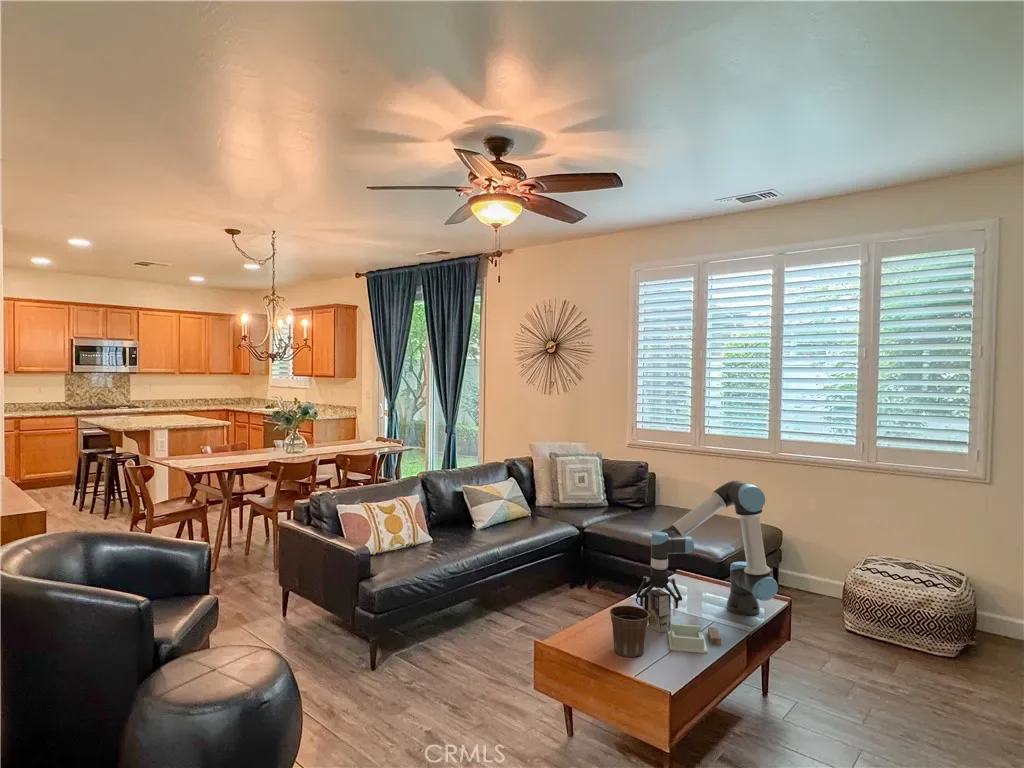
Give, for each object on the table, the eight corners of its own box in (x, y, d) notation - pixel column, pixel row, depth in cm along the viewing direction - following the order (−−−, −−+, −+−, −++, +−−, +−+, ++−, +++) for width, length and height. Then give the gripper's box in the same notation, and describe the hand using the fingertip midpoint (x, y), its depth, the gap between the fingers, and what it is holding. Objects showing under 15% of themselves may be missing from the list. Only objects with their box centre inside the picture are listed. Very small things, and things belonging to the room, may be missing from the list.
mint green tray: (703, 636, 265) (703, 624, 265) (707, 653, 249) (707, 641, 249) (667, 633, 268) (667, 622, 268) (670, 650, 252) (670, 638, 252)
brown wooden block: (717, 634, 269) (717, 627, 269) (721, 645, 257) (721, 638, 257) (707, 633, 269) (708, 626, 269) (711, 644, 258) (711, 637, 258)
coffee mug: (658, 609, 297) (658, 589, 297) (660, 616, 288) (660, 595, 288) (634, 608, 298) (634, 588, 298) (636, 615, 289) (636, 594, 289)
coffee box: (671, 630, 271) (671, 594, 271) (659, 632, 269) (659, 596, 269) (659, 623, 280) (659, 588, 280) (647, 625, 278) (647, 590, 278)
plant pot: (649, 645, 257) (649, 606, 257) (649, 662, 241) (649, 621, 241) (610, 641, 260) (610, 603, 260) (608, 657, 245) (608, 617, 245)
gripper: (687, 566, 276) (686, 613, 276) (631, 562, 281) (630, 608, 281) (688, 571, 268) (688, 619, 268) (631, 567, 273) (630, 614, 273)
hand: (658, 614), depth 275 cm, fingers open, 13 cm apart
